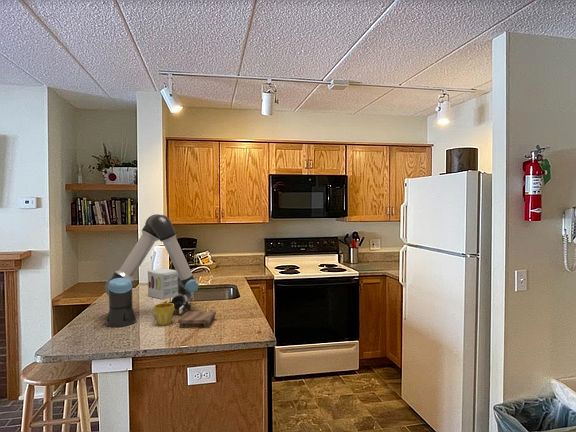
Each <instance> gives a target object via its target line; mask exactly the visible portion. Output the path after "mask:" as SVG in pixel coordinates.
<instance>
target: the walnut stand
mask: <svg viewBox="0 0 576 432" xmlns="http://www.w3.org/2000/svg"><path fill="white" fill-rule="evenodd" d="M216 314H217V312H216V310H215V311H213V310H211V311H207V310H206V311H205V310H204V311H198V310H197V311H196V310H195V311H185V313H184V314H183V315H182V316H181V317H180V318H179V319H177V324H178V325H179V328H185V324H203V325H204V326H203V327H204V328H209V327H210V322H211V321H214V320H216V318H215V317H216Z"/></svg>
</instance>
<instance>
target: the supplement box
mask: <svg viewBox="0 0 576 432" xmlns="http://www.w3.org/2000/svg"><path fill="white" fill-rule="evenodd" d="M177 278H178V273H177V271H176V269H172V268H171V269H170V268H163V267H162V268H158V269H157V268H156V269H152V270H148V271H147V295H148V297H149V298H150V297H151V298H155V299H159V300H163V301H164V300H168V299H171V298H172V299H173V298H174V297H175V296H177V295H178V279H177Z"/></svg>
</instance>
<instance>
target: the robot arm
mask: <svg viewBox="0 0 576 432" xmlns="http://www.w3.org/2000/svg"><path fill="white" fill-rule="evenodd" d="M141 233H142V234H141V235H140V237H139V239H138V240H137V242H136V244H135V245H134V246H133V248H132V249H131V251H130V252H129V254H128V256H127V258H126V259H125V261H124V262H123V264H122V265H121V267H120V268H119V270H115V271H114V273H113V275H112V276H111V277H110V278H108V280H107V281H106V282H105V285H104V290H105V293H106V295H107V296H108V307H109V308H108V313H107V316H106V320H105V325H106V327H111V328H119V327H126V326H130V325H133V324H135V323H137V315H136V313H135V309H134V307H133V284H134V282H135V281H134V276H135V275H136V274H137V272H138V270H139V268H140V267H141V266H142V264H143V262H144V260H145V258H146V257H147V255H148V254H149V252H150V251H151V250H152V248H153V246H154V244H155V243H156V242H158V241H160V242H162V243H163V245H164V248H165V249H166V252H167V255H168V256H169V258H170V260H171V263H172V265H173V267H174V270H176V271H177V273H178V278H177V279H178V295H177V296H175V297H172V299H171V301H167V300H166V301H164V302H162V303H173V304H174V310H178V314H182V313H183V312H186V311H190V310H191V305H190V303H189V302H190V301H191V300H192V298H193V293H194V292H196V291H197V290H198V289H199V282H198V281H197V279H195V277H194V275H193V273H192V271H191V268H190V266H189V263H188V262H187V259H186V257H185V255H184V253H183V251H182V248H181V246H180V244H179V242H178V239H177V233H176V230H175V228H174V226H173V223H172V221H171V219H170V218H169V217H168V216H167V215H164V214H151V215H150V216H148V218H147V219H146V220H145V222H144V226H143V227H142V229H141ZM155 305H156V304H154V306H155ZM154 306H153V307H154ZM154 314H155V313H154ZM155 315H156V314H155Z"/></svg>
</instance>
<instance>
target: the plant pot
mask: <svg viewBox="0 0 576 432" xmlns="http://www.w3.org/2000/svg"><path fill="white" fill-rule="evenodd" d="M154 305H155V306H153V312H154V313H155V317H156V320H157V324H158V325H160V326H166V325H167V326H168V325H169V324H171V323H172V319H173V315H174V311H175V308H174V304H173V303H168V302H167V303H163V302H161V303H157V304H154Z"/></svg>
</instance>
